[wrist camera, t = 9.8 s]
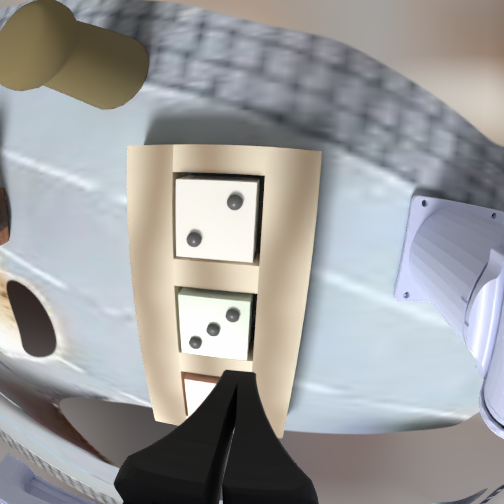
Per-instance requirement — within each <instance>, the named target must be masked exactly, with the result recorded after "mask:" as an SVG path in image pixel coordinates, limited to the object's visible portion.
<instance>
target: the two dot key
mask: <svg viewBox="0 0 504 504" xmlns="http://www.w3.org/2000/svg"><path fill="white" fill-rule="evenodd" d="M259 194H260V179H259V178H242V177H221V176H192V175H190V176H186V177H182V178H179V179H176V256H180V257H191V258H203V259H215V260H227V261H239V262H251V263H253V259H254V255H255V251H256V244H257V228H258V211H259Z"/></svg>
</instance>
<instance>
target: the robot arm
mask: <svg viewBox="0 0 504 504" xmlns="http://www.w3.org/2000/svg"><path fill="white" fill-rule="evenodd" d="M423 200H425V201H426V203H425V205H424V206H422V201H423ZM493 213H494V216H493V217H492V214H493ZM406 292H408V294H407V295H406V296H404V294H405V293H406ZM394 297H395V299H396V300H398V301H420V302H430V303H431V304H432V305H433V306H434V307H435V308H436V310H437V311H438V312H439V313H440V314H441V316H442V317H443V318H444V319H445V320H446V322H447V323H448V324H449V325H450V326H451V328H452V329H453V330H454V331H455V333H456V334H457V335H458V336H459V338H460V339H461V340H462V341H463V343H464V344H465V345H466V346H467V348H468V349H469V350H470V352H471V353H472V354H473V356H474V357H475V360H476V363H475V368H476V369H477V370H478V372H479V373H480V374H481V376H482V377H483V379H484V381H483V384H482V387H481V390H480V395H479V408H480V413H481V415H482V418H483V420H484V421H485V423H486V425H487V426H488V427H489V428H490V429H491V430H492V431H493V432H494V433H495V434H496V435H498V436H499V437H501V438H503V439H504V212H503V211H500V210H495V209H491V208H486V207H481V206H477V205H472V204H467V203H461V202H456V201H451V200H445V199H440V198H434V197H428V196H422V195H415V196H413V197H412V199H411V204H410V211H409V218H408V224H407V230H406V236H405V242H404V247H403V253H402V258H401V263H400V267H399V272H398V277H397V281H396V286H395V290H394ZM233 432H234V433H233ZM232 436H233V438H232ZM231 439H232V443H231ZM230 443H231V448H230V453H229V457H228V462H227V466H226V470H225V474H224V478H223V473H224V467H225V462H226V458H227V454H228V450H229V447H230ZM222 479H223V482H222ZM114 486H115V488H116V490H117V492H118V493H119V495H120V496H121V498H122V499H123V501H124V502H123V504H219V500H220V493H221V486H222V491H223V492H222V493H223V504H318V498H317V494H316V491H315V488H314V486H313V483H312V481H311V479H310V478H309V477H308V476H307V475H306V474H305V473H304V472H303V471H302V470H301V469H300V468H299V467H298V466H297V464H296V463H295V462H294V461H293V460H292V458H291V457H290V456H289V454H288V453H287V451H286V450H285V449H284V447H283V446H282V444H281V443H280V441H279V440H278V438H277V436H276V434H275V432H274V431H273V429H272V427H271V425H270V423H269V420H268V418H267V416H266V413H265V411H264V408H263V405H262V402H261V399H260V396H259V392H258V388H257V381H256V374H255V373H254V372H247V371H236V370H225V371H223V374H222V375H221V377H220V379H219V381H218V382H217V384H216V385H215V387H214V388H213V390H212V391H211V392H210V394H209V395H208V396H207V397H206V399H205V400H204V401H203V402H202V403H201V405H200V406H199V407H198V408H197V409H196V410H195V411H194V412H193V413H192V414H191V415H190V416H189V417H188V418H187V419H186V420H185V421H184V422H183V423H182V424H180V425H179V426H178V427H177V428H176V429H175V430H173V431H172V432H170V433H169V434H168V435H166V436H165V437H163V438H162V439H160V440H158V441H157V442H155V443H154V444H152V445H150V446H148V447H147V448H145V449H142V450H141V451H138V452H136V453H134V454H132V455H130V456H128V457H127V459H126V460H125V462H124V463H123V465H122V466H121V468H120V470H119V472H118V474H117V477H116V479H115V481H114ZM0 503H1V504H97V503H95V502H92V501H89V500H87V499H85V498H82V497H80V496H78V495H76V494H73V493H71V492H69V491H67V490H64V489H62V488H60V487H58V486H56V485H54V484H52V483H50V482H48V481H46V480H44V479H43V478H41V477H39V476H37V475H35V474H34V472H33V471H32V469H31V468H30V467H29V466H28V465H26V464H25V463H24V462H22V461H21V460H19V459H17V458H16V457H14V456H12V455H11V454H9V453H7V454H6V456H5V457H4V459H3V460H2V461H1V463H0Z"/></svg>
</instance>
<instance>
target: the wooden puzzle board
mask: <svg viewBox="0 0 504 504" xmlns="http://www.w3.org/2000/svg"><path fill="white" fill-rule="evenodd" d="M321 159H322V151H314V150H303V149H291V148H278V147H263V146H243V145H208V144H173V145H138V146H127V212H128V234H129V250H130V263H131V274H132V284H133V294H134V302H135V311H136V318H137V326H138V332H139V339H140V345H141V352H142V357H143V363H144V369H145V374H146V379H147V384H148V389H149V394H150V399H151V403H152V408H153V412H154V417H155V420H156V421H160V422H164V423H169V424H174V425H180V424H182V423H183V422H184V421H185V420H186V419H187V418H188V417H189V416H188V408H187V399H186V390H185V381H184V379H185V376H186V374H187V372H190V373H197V374H203V375H211V376H218V377H221V375H222V374H223V371H225V370H236V371H247V372H254V373H255V374H256V381H257V388H258V392H259V396H260V399H261V402H262V405H263V408H264V411H265V413H266V416H267V418H268V420H269V423H270V425H271V427H272V429H273V431H274V432H275V434H276V436H277V438H282V437H283V432H284V427H285V422H286V417H287V412H288V407H289V402H290V397H291V392H292V386H293V381H294V375H295V369H296V364H297V358H298V352H299V346H300V339H301V333H302V327H303V320H304V313H305V306H306V299H307V292H308V285H309V277H310V269H311V261H312V253H313V244H314V235H315V226H316V216H317V206H318V195H319V184H320V172H321ZM185 172H199V173H227V174H247V175H264V176H265V183H264V200H263V216H262V232H261V248H260V254H259V253H255V255H254V259H253V263H251V262H239V261H227V260H215V259H203V258H191V257H180V256H176V179H179V178H182V177H184V176H185ZM183 287H192V288H201V289H211V290H222V291H232V292H243V293H254V294H257V308H256V322H255V337H254V342H250V345H249V351H248V357H247V361H246V360H237V359H228V358H219V357H211V356H204V355H196V354H189V353H183V352H182V348H181V335H180V320H179V303H178V294H179V292H180V291H181V290H182V288H183ZM233 433H234V432H233Z"/></svg>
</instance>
